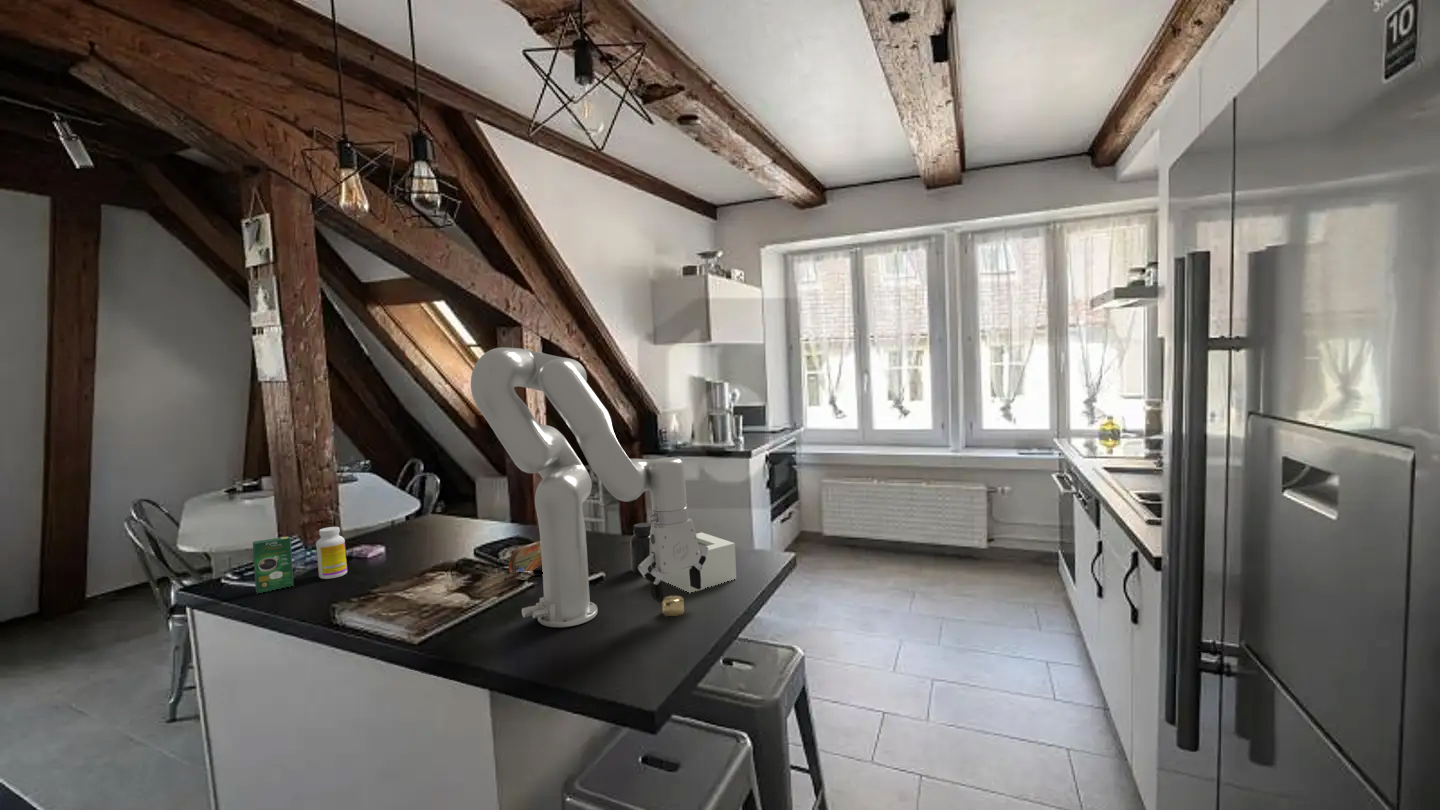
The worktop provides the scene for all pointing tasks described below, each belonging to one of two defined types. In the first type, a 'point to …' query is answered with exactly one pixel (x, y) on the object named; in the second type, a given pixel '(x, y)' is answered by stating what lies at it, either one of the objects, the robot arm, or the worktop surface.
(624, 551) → the worktop surface
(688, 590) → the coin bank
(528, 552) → the tin
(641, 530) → the supplement bottle
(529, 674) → the worktop surface
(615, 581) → the worktop surface
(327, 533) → the supplement bottle
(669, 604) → the gold short cylinder
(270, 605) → the worktop surface
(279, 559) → the coffee box
